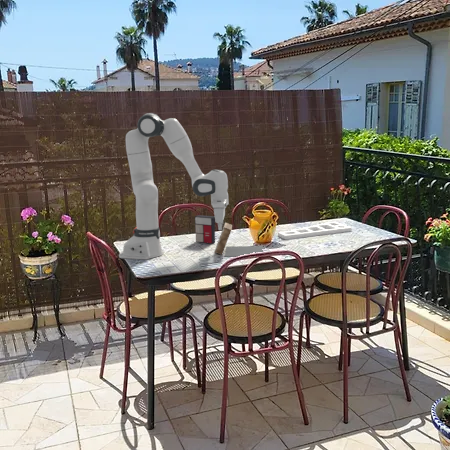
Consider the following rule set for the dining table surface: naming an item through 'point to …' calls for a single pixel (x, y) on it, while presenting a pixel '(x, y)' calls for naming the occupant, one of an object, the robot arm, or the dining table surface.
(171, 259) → the dining table surface
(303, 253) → the dining table surface
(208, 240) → the grey and red box
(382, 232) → the dining table surface
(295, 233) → the holder
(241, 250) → the mat
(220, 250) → the tall block
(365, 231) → the dining table surface
